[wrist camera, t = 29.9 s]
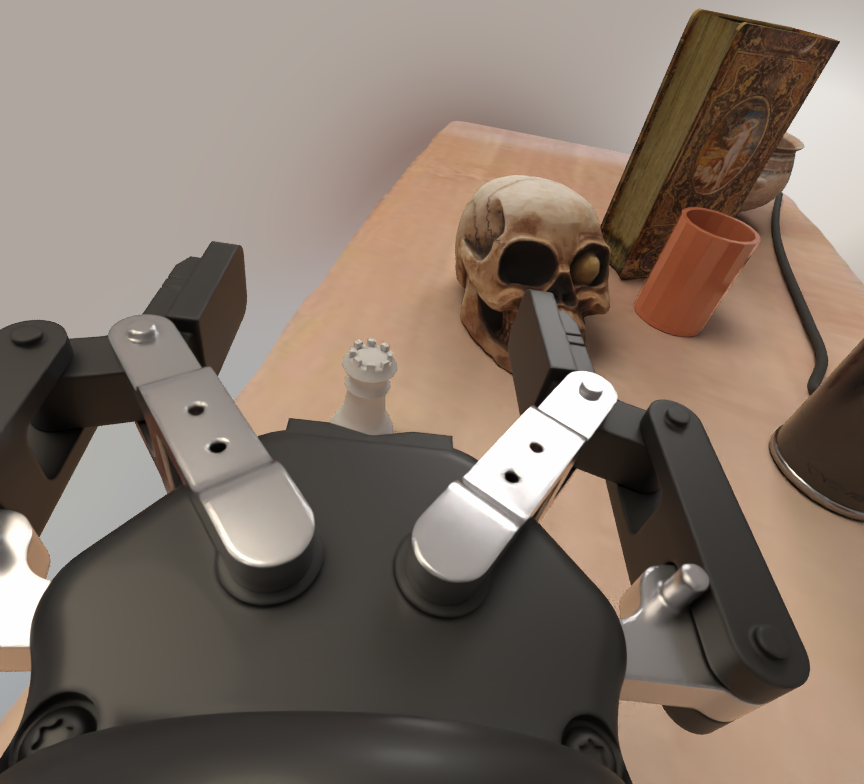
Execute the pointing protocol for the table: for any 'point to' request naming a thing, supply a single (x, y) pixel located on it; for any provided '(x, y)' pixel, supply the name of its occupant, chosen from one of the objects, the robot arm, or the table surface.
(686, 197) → the book
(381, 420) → the rook chess piece
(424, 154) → the table surface
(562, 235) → the coin bank
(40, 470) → the robot arm
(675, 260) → the pen pot
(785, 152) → the cooking pot
